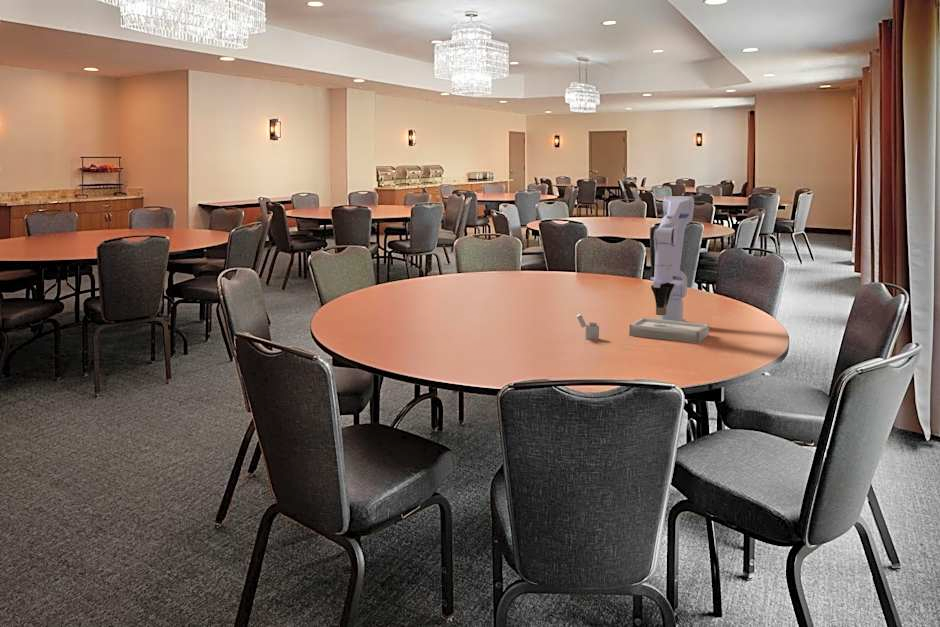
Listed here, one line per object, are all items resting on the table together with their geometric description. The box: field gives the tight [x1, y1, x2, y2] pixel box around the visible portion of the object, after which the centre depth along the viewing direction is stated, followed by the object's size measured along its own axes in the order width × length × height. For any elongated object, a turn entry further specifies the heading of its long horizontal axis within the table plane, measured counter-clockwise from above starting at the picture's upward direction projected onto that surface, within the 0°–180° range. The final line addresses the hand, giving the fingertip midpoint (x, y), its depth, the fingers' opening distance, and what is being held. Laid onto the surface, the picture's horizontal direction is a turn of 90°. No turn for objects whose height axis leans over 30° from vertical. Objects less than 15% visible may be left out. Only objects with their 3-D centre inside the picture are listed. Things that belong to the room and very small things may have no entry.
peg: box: [655, 299, 666, 316], centre depth 234 cm, size 3×3×8 cm
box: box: [628, 317, 710, 344], centre depth 233 cm, size 13×22×4 cm, turn 59°
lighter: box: [576, 313, 600, 341], centre depth 228 cm, size 7×2×8 cm, turn 81°
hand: (661, 306), depth 234 cm, fingers closed on peg, 3 cm apart
